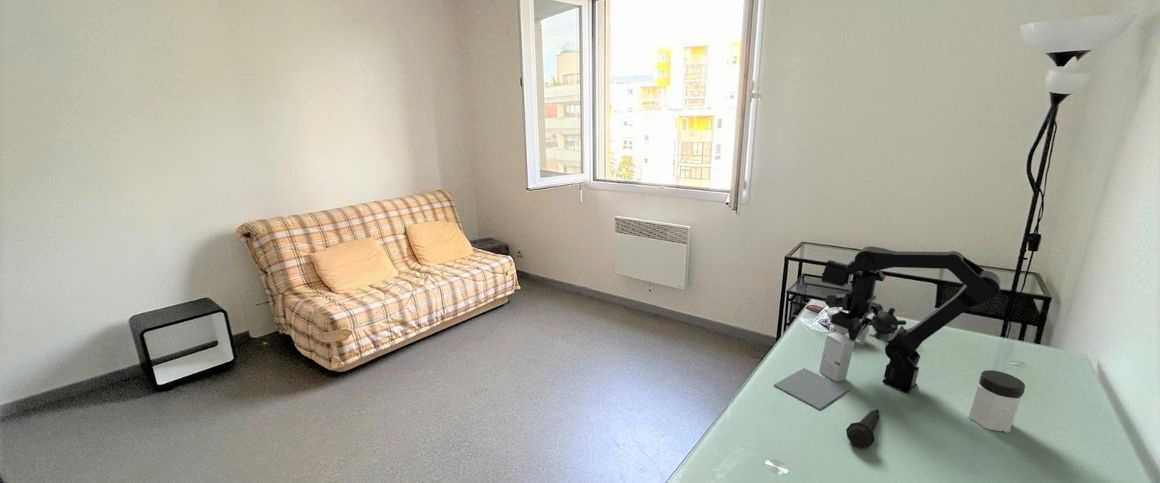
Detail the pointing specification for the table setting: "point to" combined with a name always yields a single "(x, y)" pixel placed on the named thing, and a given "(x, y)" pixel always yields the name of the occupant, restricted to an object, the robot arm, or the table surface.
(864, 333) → the dog figurine
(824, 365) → the skincare box
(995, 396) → the jar
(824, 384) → the mat
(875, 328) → the toy ball
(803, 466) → the table surface
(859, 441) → the microphone
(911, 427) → the table surface
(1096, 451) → the table surface
